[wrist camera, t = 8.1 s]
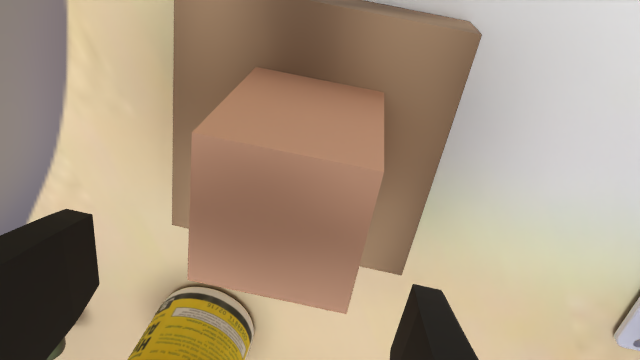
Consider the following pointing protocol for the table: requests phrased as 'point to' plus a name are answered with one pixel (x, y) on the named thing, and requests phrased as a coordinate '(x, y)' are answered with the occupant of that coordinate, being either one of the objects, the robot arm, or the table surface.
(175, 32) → the walnut slab
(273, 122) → the terracotta block
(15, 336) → the robot arm
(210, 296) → the supplement bottle
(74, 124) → the table surface
